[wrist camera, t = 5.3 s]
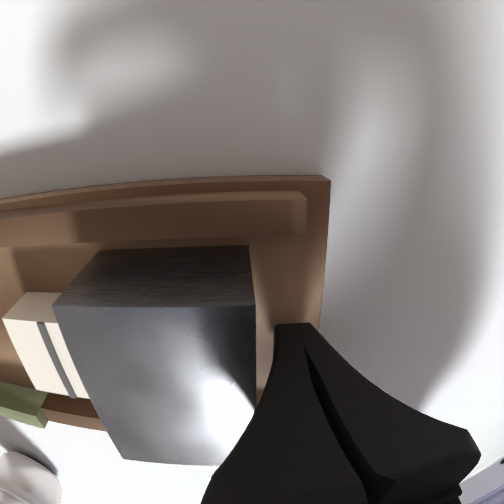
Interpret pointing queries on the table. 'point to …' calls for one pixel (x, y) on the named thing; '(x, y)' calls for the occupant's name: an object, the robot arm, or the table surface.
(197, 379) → the grey rectangular block
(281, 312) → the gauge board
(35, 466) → the plastic bottle
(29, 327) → the cream square block
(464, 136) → the table surface
